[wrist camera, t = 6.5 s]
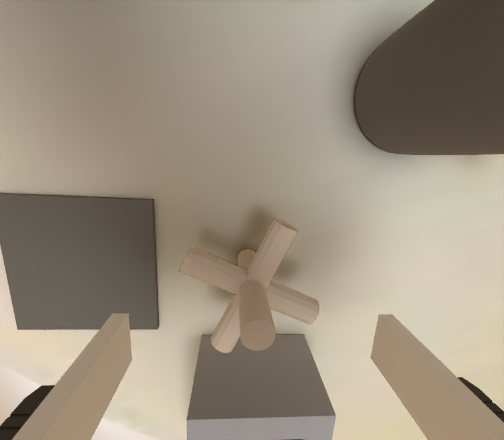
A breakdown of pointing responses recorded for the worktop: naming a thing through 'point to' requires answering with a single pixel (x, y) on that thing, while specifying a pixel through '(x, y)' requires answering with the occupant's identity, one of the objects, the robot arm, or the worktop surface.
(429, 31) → the mug
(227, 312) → the beige toy jack
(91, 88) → the worktop surface
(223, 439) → the housing
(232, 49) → the worktop surface
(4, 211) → the mat
